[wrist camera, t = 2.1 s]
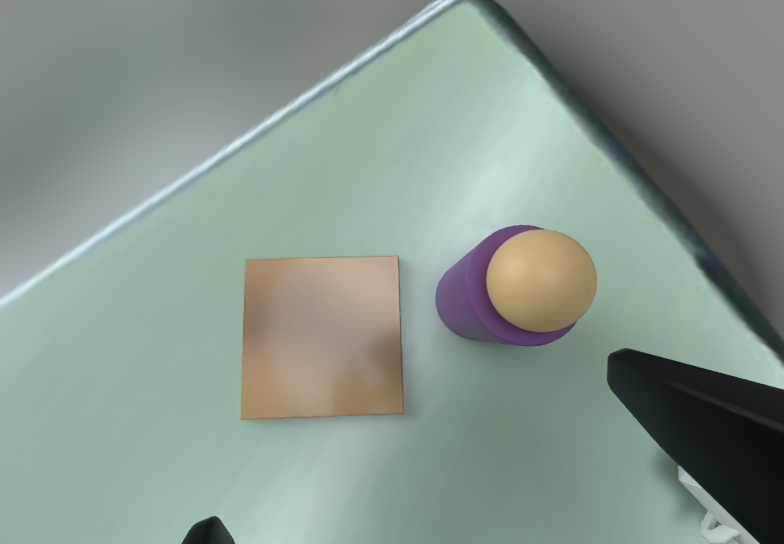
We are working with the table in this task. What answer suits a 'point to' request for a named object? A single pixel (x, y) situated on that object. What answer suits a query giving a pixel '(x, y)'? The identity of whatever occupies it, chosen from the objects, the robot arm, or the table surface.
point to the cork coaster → (321, 337)
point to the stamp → (715, 516)
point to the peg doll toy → (518, 287)
